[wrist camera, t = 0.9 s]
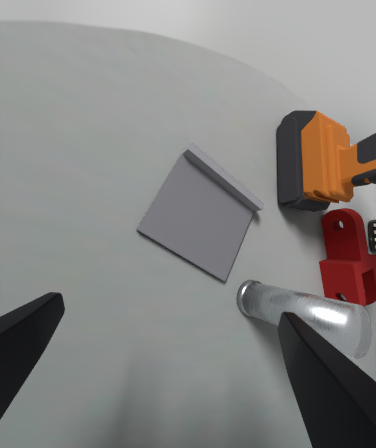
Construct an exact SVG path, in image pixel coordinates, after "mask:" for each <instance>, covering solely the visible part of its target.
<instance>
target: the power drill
mask: <svg viewBox="0 0 376 448" xmlns="http://www.w3.org/2000/svg"><path fill="white" fill-rule="evenodd" d="M277 161H278V200H279V202H280V203H282V204H284V205H286V206H288V207H293V208H298V209H303V210H308V211H313V212H315V211H321V210H327V208H328V206H329V205H330V202H334V203H339V200H340V201H343V202H350V200H351V199H352V197H353V196H354V195H353V187H357V186H362V185H368V184H371V183H374V184H376V133H375V134H373V135H371V136H369V137H367V138H366V139H364V140H362V141H360V142H358V143H357V144H355V145H353V146H351V147H350V138H349V135H348V134H347V132H346V128H345V127H344V126H342V125H340V124H339V123H337V122H335V121H334V120H332V119H330V118H328V117H327V116H325V115H323V114H322V113H320V112H318V111H293V112H291V113H290V114H288V115H286V116H285V117H284V118H283V120H282V121H281V124H280V125H279V126H278V128H277Z"/></svg>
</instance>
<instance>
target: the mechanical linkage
mask: <svg viewBox="0 0 376 448" xmlns="http://www.w3.org/2000/svg"><path fill="white" fill-rule="evenodd" d="M340 221H341V222H342V223H343V228H341V227H340V225H339V222H340ZM321 222H322V228H323V234H324V240H325V246H326V252H327V258H328V259H326V260H323V261H320V262H319V264H320V270H321V276H322V282H323V288H324V294H325V298H330V299H335V300H339V301H344V302H349V303H353V304H358V305H362V306H363V307H365V305H369V304H372V303H374V302H375V301H376V255H370V254H369V253H368V247H367V241H366V235H365V229H364V223H363V219H362V217H361V216H360V215H359V214H358V213H357V212H356V211H354V210H352V209H347V208H343V209H337V210H332V211H329V212H328V213H326V214H325V215H324V216H323V218H322V221H321ZM364 290H365V292H364ZM340 293H341V294H343V295H344V296H345V297H346V299H347V301H346V300H344V299H343V298H342V297H341V295H340Z"/></svg>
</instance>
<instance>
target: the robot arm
mask: <svg viewBox="0 0 376 448" xmlns="http://www.w3.org/2000/svg"><path fill="white" fill-rule="evenodd" d="M64 311H65V307H64V302H63V297H62V294H61V293H56V292H50V293H48V294H45V295H43V296H41V297H39V298H37V299H35V300H33V301H31V302H29V303H27V304H25V305H23V306H21V307H19V308H17V309H15V310H13V311H11V312H9V313H7V314H5V315H3V316H1V317H0V419H1V418H2V416H3V414H4V413H5V411H6V410H7V408H8V407H9V405H10V404H11V402H12V401H13V399H14V397H15V396H16V394H17V393H18V391H19V390H20V388H21V387H22V385H23V383H24V382H25V380H26V379H27V377H28V376H29V374H30V373H31V371H32V369H33V368H34V366H35V365H36V363H37V362H38V360H39V359H40V357H41V355H42V354H43V352H44V350H45V349H46V347H47V345H48V343H49V341H50V339H51V337H52V336H53V334H54V332H55V330H56V328H57V326H58V324H59V322H60V320H61V318H62V316H63V314H64ZM278 335H279V339H280V344H281V348H282V352H283V356H284V361H285V365H286V369H287V373H288V376H289V379H290V383H291V386H292V388H293V391H294V394H295V397H296V400H297V403H298V406H299V409H300V412H301V415H302V418H303V421H304V424H305V427H306V430H307V433H308V435H309V438H310V441H311V444H312V447H313V448H376V381H374V380H373V379H372V378H371V377H370V376H369V375H367V374H366V373H365V372H364V371H363V370H361V369H360V368H359V367H358V366H357V365H355V364H354V363H353V362H352V361H351V360H350V359H348V358H347V357H346V356H345V355H344V354H342V353H341V352H340V351H339V350H338V349H337V348H335V347H334V346H333V345H332V344H331V343H329V342H328V341H327V340H326V339H325V338H323V337H322V336H321V335H320V334H319V333H318V332H316V331H315V330H314V329H313V328H312V327H310V326H309V325H308V324H307V323H306V322H305V321H303V320H302V319H301V318H300V317H299V316H297V315H296V314H295V313H293V312H285V311H284V312H282V314H281V317H280V321H279V324H278Z"/></svg>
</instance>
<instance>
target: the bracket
mask: <svg viewBox="0 0 376 448" xmlns="http://www.w3.org/2000/svg"><path fill="white" fill-rule="evenodd" d="M263 206H264V203H263V202H262V201H261V200H260V199H259V198H258V197H256V196H255V195H254V194H253V193H252V192H250V191H249V190H248V189H247V188H246V187H245V186H243V185H242V184H241V183H240V182H239V181H237V180H236V179H235V178H234V177H233V176H232V175H230V174H229V173H228V172H227V171H226V170H224V169H223V168H222V167H221V166H220V165H219V164H217V163H216V162H215V161H214V160H213V159H211V158H210V157H209V156H208V155H207V154H206V153H204V152H203V151H202V150H201V149H200V148H198V147H197V146H196V145H195V144H194V143H193V142H191V143H190V144H189V145H188V146H187V147H186V148H185V149H184V150H183V152H182V153H181V155H180V157H179V159H178V160H177V162H176V164H175V165H174V167H173V169H172V170H171V172H170V174H169V175H168V177H167V179H166V181H165V182H164V184H163V186H162V187H161V189H160V191H159V192H158V194H157V196H156V197H155V199H154V201H153V202H152V204H151V206H150V208H149V209H148V211H147V213H146V214H145V216H144V218H143V219H142V221H141V223H140V224H139V226H138V228H137V231H139V232H140V233H142V234H144V235H145V236H147V237H149V238H151V239H152V240H154V241H156V242H157V243H159V244H161V245H162V246H164V247H166V248H167V249H169V250H171V251H172V252H174V253H176V254H178V255H179V256H181V257H183V258H184V259H186V260H188V261H189V262H191V263H193V264H194V265H196V266H198V267H200V268H201V269H203V270H205V271H206V272H208V273H210V274H211V275H213V276H215V277H216V278H218V279H220V280H221V281H224V282H225V281H226V278H227V276H228V274H229V271H230V269H231V266H232V264H233V261H234V259H235V256H236V254H237V252H238V249H239V247H240V244H241V242H242V239H243V237H244V234H245V232H246V229H247V227H248V225H249V222H250V220H251V217H252V215H253V212H254V211H258V210H262V208H263Z"/></svg>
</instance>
